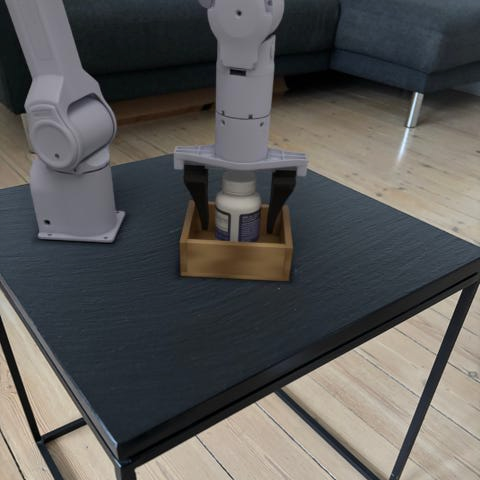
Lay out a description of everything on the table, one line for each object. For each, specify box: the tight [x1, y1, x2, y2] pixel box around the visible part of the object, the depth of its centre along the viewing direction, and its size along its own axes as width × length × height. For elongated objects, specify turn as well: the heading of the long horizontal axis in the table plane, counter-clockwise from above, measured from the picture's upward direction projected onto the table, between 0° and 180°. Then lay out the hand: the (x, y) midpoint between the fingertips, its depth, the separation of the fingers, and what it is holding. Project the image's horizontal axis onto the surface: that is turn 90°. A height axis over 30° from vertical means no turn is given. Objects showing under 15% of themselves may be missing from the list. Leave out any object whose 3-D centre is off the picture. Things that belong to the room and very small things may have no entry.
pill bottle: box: [214, 170, 262, 243], centre depth 61 cm, size 5×5×10 cm
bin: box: [179, 199, 294, 282], centre depth 63 cm, size 13×11×4 cm
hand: (237, 228), depth 62 cm, fingers open, 7 cm apart
